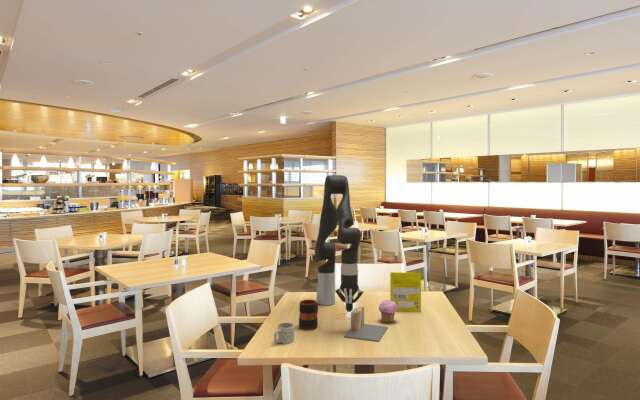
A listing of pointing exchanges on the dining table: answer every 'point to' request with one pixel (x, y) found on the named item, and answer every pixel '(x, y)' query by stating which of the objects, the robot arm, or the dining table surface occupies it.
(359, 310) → the wooden block
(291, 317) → the dining table surface
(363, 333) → the mat
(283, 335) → the mug
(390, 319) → the cupcake
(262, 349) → the dining table surface
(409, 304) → the food package
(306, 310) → the mug
